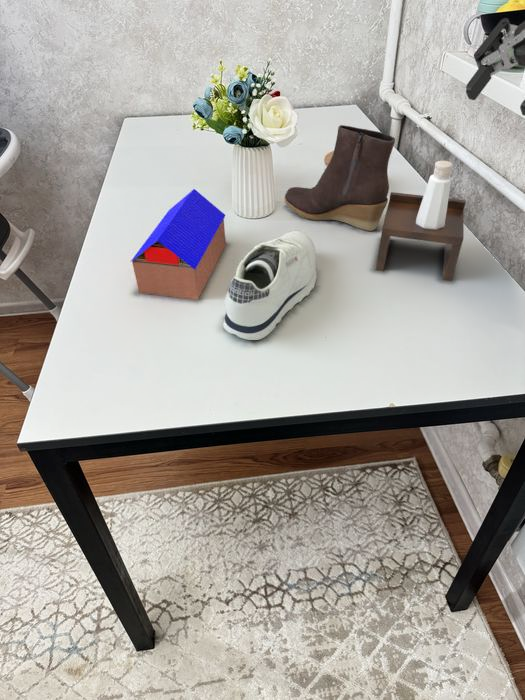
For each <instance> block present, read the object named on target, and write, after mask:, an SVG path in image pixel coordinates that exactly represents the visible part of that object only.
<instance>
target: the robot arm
mask: <svg viewBox="0 0 525 700" xmlns="http://www.w3.org/2000/svg"><path fill="white" fill-rule="evenodd" d="M512 50H513V51H512ZM510 51H512V53H513V55H512V56H509V52H510ZM473 58H474V60H475V63H476V66H477V70H476V71H475V73H474V74H473V76H472V77H471V78H470V80H469V81H468V82H467V84H466V86H465V88H466V90H465V93H466V95H467V98H468V100H471V101H475V100H477V98H478V97H479V95H481V93H482V91H484V90H485V88H486V86H487V85H488V83H489V82H491V79H492V76H494V75H495V74H497V73H500V72H501V71H503V70H510V69H512V68H513V67H515V66H517V65H518V66H520V67H525V20H524V21H523V22H521V23H520V24H519V25H516V24H511V23H510V20H509V18H508V17H504V18H502V19H500V21H499V22H498V23H497V24H496V26H495V27H494V28H493V29H492V31H491V32H490V33H489V35H488V36H487V37H486V38H485V40H483V42H482V43H481V45H480V46H479V47H478V48H477V49H476V50H475V52H474V53H473ZM519 108H520V112H521V115H522V116H525V99H524V100H523V101H522V102H521V104H520V107H519Z"/></svg>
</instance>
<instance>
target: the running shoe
mask: <svg viewBox="0 0 525 700" xmlns="http://www.w3.org/2000/svg"><path fill="white" fill-rule="evenodd" d="M316 262H317V253H316V247H315V244H314V242H313V240H312V238H311V237H310V236H309V235H308V234H307V233H305V232H302V231H297V230H295V231H290V232H287V233H285V234H283V235H281V236H280V237H277V238H274V239H272V240H269V241H266V242H265V241H263V242H261V243H259V244H256V245H255V246H254V247H253V249H251V250H250V251H249V252H248V253H247V254H246V255H245V256H244V257H243V259H242V260H241V261H240V262H239V264H238V265H237V268H236V272H235V276H233V277H232V279H231V281H230V284H229V286H228V289H227V292H226V294H225V298H224V309H225V316H224V319H223V323H222V326H223V329H224V330H225V331H226V332H228V333H229V334H231V335H235V336H237V337H238V338H240V339H242V340H250V341H256V340H257V341H258V340H262V339H264V338H266V337H267V336H268V335H270V333H271V332H272V331H273V330H275V328H276V325H277V324H279V323H281V321H282V318H283V317H284V316H285V315H286V314H287V313H288V312H289V311H291V310H292V309H294V306H295V305H297V303H298V304H299V303H300V302H302V301H303V300H304V299H305V297H308V296H309V295H310V294H311V291H312V290H314V288H315V286H316V285H315V284H316V281H317V278H318V277H317V265H316V264H317V263H316Z"/></svg>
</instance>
